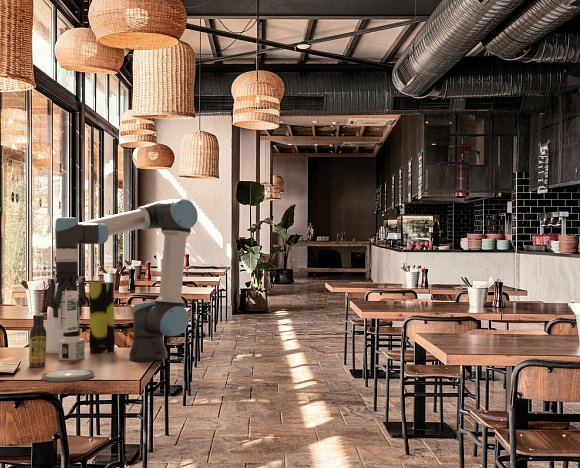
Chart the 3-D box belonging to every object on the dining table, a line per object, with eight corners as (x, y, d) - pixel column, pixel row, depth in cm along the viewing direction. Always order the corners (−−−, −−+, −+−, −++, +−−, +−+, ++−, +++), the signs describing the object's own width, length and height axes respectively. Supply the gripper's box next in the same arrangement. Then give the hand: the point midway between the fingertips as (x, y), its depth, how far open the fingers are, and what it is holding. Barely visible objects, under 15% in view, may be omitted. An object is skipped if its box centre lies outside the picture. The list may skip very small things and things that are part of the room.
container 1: (76, 360, 309) (75, 328, 309) (58, 360, 310) (58, 328, 310) (85, 357, 316) (84, 326, 316) (67, 357, 318) (67, 326, 318)
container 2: (117, 350, 337) (116, 282, 337) (112, 353, 326) (111, 283, 326) (92, 350, 336) (91, 282, 337) (86, 354, 326) (86, 283, 326)
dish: (99, 372, 279) (99, 368, 279) (86, 381, 261) (86, 377, 261) (50, 373, 279) (50, 369, 279) (34, 382, 261) (34, 378, 261)
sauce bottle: (30, 368, 291) (29, 316, 291) (27, 365, 296) (27, 314, 297) (48, 366, 294) (47, 315, 294) (45, 364, 299) (44, 313, 300)
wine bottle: (71, 352, 331) (70, 283, 331) (49, 354, 326) (48, 284, 326) (64, 350, 339) (63, 282, 339) (42, 352, 333) (41, 283, 334)
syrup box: (66, 332, 266) (66, 291, 266) (55, 332, 269) (54, 290, 270) (79, 331, 271) (79, 290, 271) (67, 330, 274) (67, 289, 274)
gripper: (85, 260, 280) (86, 323, 280) (35, 261, 266) (36, 327, 266) (96, 260, 275) (97, 324, 275) (46, 261, 261) (46, 329, 261)
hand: (67, 325), depth 270 cm, fingers closed on syrup box, 6 cm apart
